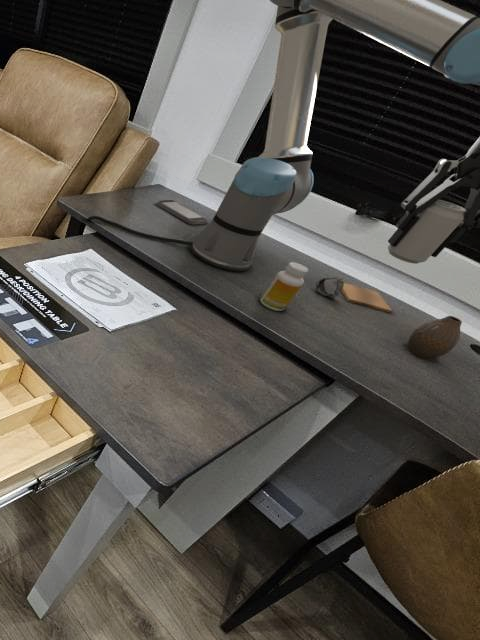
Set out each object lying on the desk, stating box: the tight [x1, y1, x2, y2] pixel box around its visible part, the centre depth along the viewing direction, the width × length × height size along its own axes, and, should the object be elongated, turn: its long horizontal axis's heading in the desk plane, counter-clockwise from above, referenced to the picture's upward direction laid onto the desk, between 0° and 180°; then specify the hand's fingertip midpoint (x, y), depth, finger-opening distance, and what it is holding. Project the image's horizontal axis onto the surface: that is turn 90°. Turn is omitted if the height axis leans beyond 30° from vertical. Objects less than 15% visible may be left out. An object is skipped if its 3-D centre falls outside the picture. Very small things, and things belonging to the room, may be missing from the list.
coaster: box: [341, 282, 393, 313], centre depth 114 cm, size 10×10×1 cm
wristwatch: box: [315, 276, 345, 298], centre depth 110 cm, size 3×5×5 cm
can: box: [387, 199, 466, 265], centre depth 97 cm, size 8×8×12 cm
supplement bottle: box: [259, 261, 309, 312], centre depth 100 cm, size 5×5×10 cm
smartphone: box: [156, 199, 209, 226], centre depth 139 cm, size 7×1×15 cm
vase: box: [407, 315, 463, 359], centre depth 94 cm, size 7×7×9 cm
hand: (411, 249), depth 99 cm, fingers closed on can, 7 cm apart
